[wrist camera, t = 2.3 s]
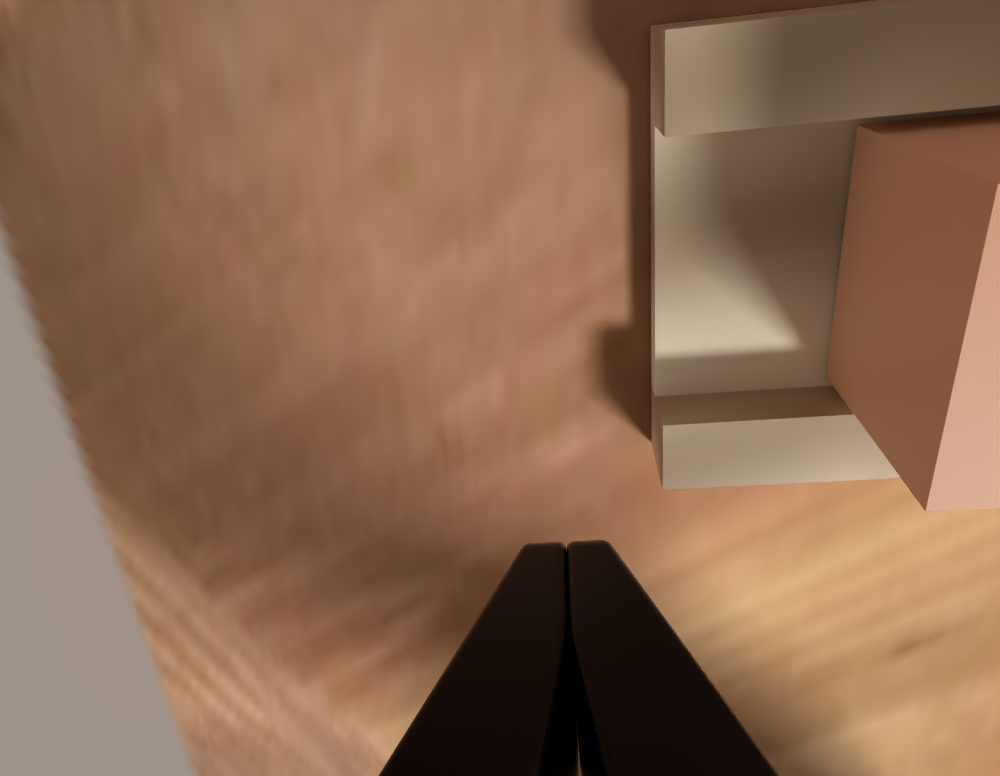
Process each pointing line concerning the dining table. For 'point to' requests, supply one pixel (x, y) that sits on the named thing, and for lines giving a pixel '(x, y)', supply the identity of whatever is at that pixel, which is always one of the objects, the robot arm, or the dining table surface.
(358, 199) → the dining table surface
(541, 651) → the robot arm
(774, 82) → the chute
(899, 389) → the block
